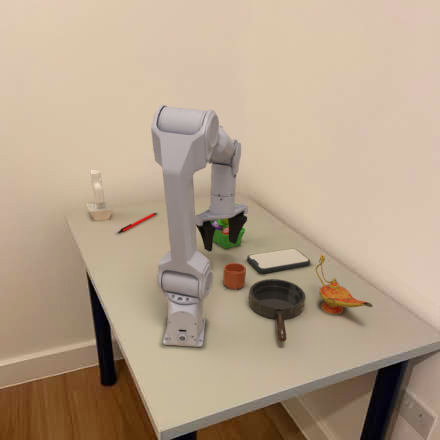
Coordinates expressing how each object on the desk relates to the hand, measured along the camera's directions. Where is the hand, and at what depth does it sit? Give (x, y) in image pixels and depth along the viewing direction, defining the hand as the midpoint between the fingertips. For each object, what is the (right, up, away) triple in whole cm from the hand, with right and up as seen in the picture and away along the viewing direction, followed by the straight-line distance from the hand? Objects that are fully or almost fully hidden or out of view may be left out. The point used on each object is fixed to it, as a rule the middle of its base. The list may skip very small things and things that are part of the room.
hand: (220, 246), depth 108 cm
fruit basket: (+1, +4, +23) cm, 24 cm away
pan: (+13, -14, -5) cm, 20 cm away
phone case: (+16, -3, +13) cm, 21 cm away
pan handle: (+13, -19, -15) cm, 27 cm away
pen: (-26, +10, +32) cm, 43 cm away
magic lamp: (+27, -16, -6) cm, 32 cm away
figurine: (-39, +13, +35) cm, 54 cm away
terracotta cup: (+3, -9, +2) cm, 10 cm away
